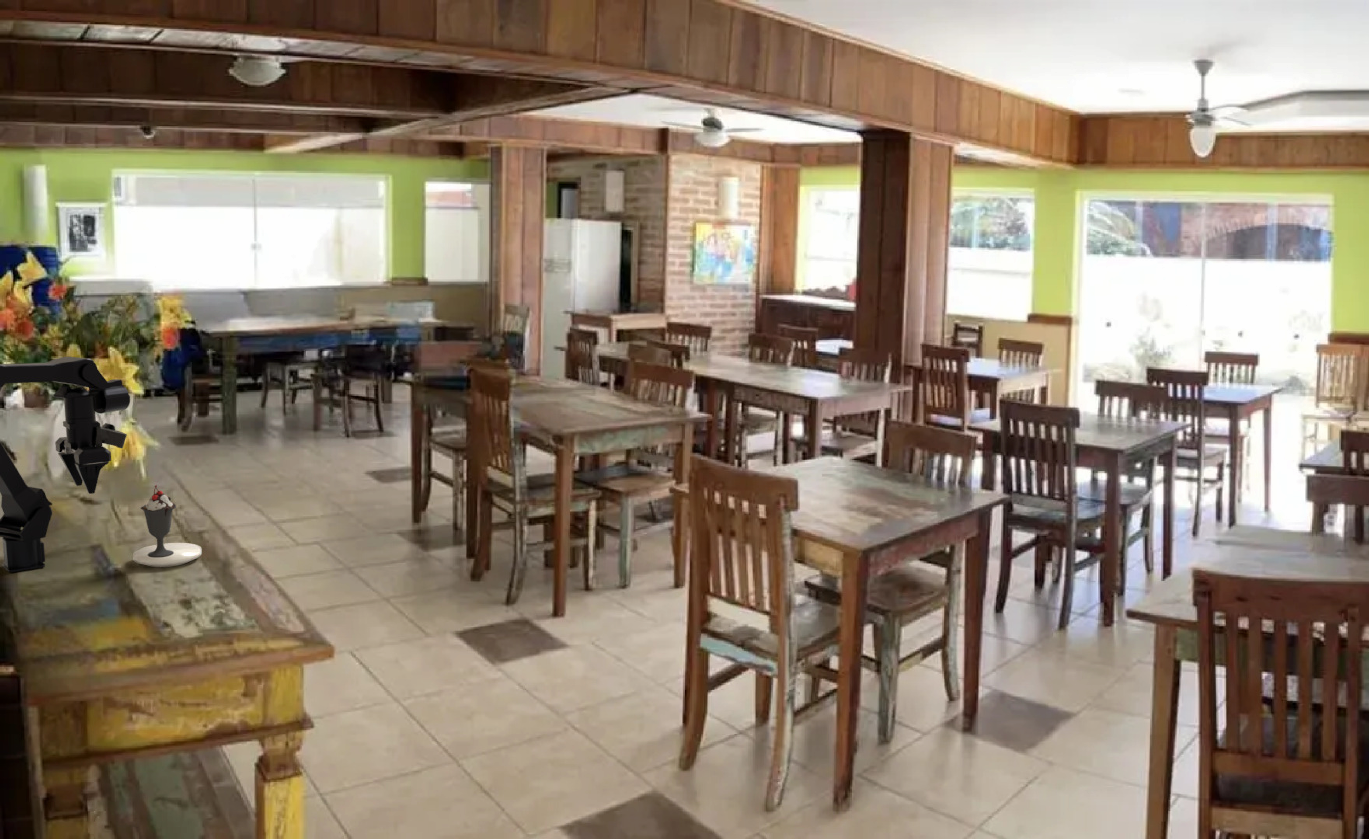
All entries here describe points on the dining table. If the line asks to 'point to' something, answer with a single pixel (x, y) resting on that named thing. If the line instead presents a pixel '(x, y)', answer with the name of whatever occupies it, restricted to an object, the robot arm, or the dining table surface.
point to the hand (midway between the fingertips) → (85, 489)
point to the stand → (180, 556)
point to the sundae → (159, 520)
